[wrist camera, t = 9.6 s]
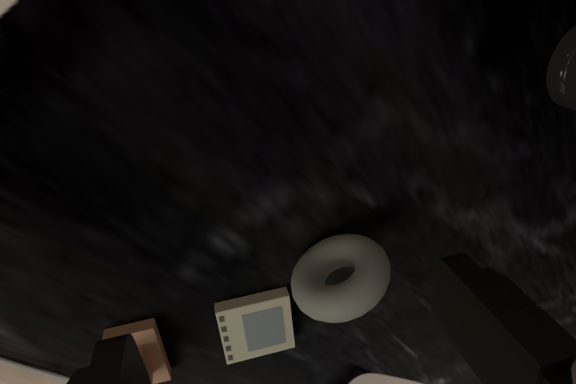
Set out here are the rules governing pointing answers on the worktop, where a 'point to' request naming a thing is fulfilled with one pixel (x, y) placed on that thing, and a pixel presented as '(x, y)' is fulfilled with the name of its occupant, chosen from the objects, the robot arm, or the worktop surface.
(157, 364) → the stub
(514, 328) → the robot arm
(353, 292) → the donut
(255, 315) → the control panel
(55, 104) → the worktop surface
